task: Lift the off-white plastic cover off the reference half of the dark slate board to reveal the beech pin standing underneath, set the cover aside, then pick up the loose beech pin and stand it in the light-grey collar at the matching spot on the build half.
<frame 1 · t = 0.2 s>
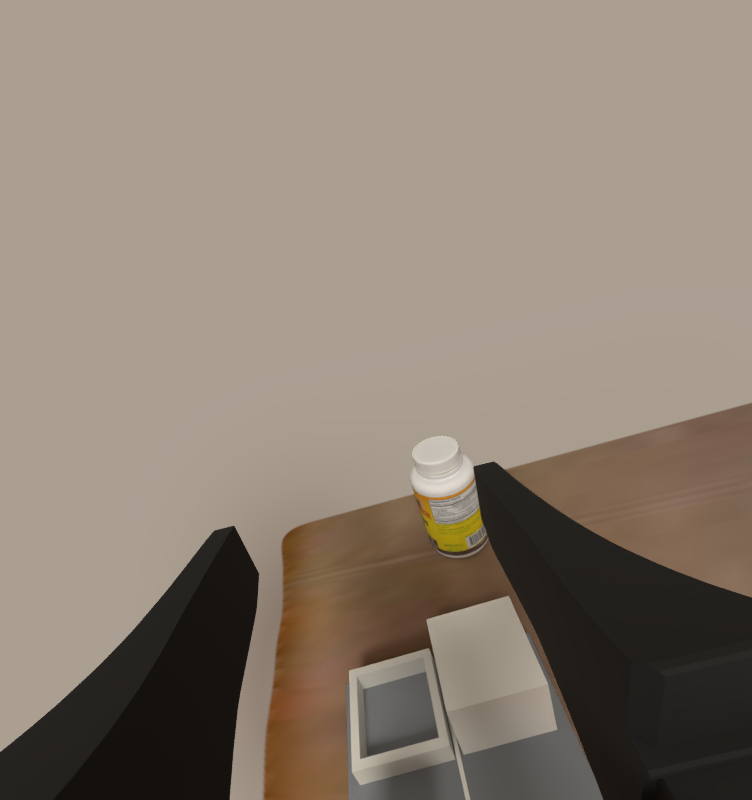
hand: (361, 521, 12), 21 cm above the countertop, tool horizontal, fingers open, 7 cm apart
layout board: (469, 795, 23), on the countertop
supplement bottle: (460, 539, 39), on the countertop
cover: (493, 691, 26), point 1 cm above the countertop, touching layout board
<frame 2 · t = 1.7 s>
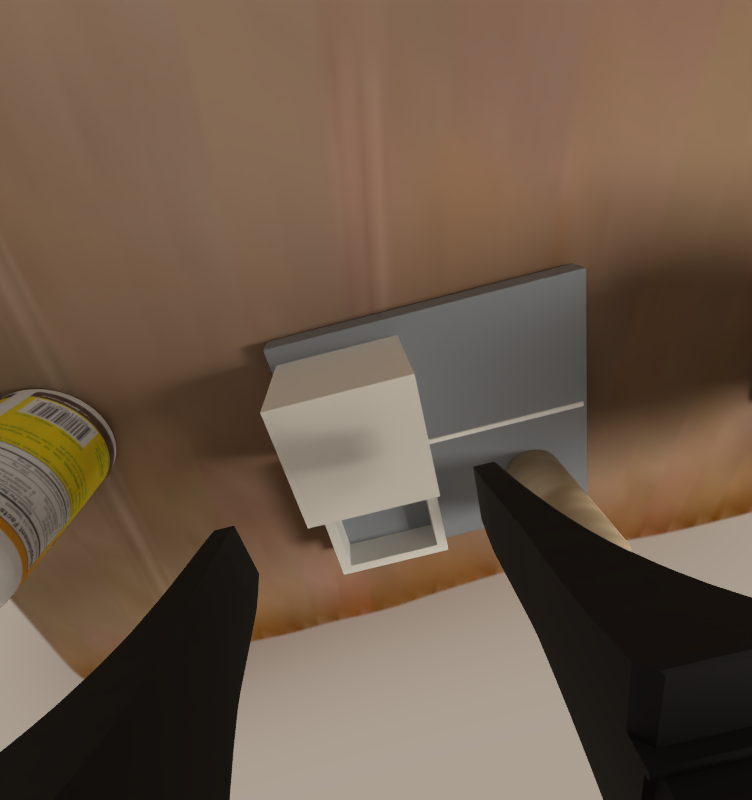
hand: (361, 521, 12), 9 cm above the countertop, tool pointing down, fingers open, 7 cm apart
layout board: (441, 424, 22), on the countertop
supplement bottle: (62, 434, 20), on the countertop
cover: (352, 404, 19), point 1 cm above the countertop, touching layout board
loose pin: (531, 473, 22), point 1 cm above the countertop, touching layout board
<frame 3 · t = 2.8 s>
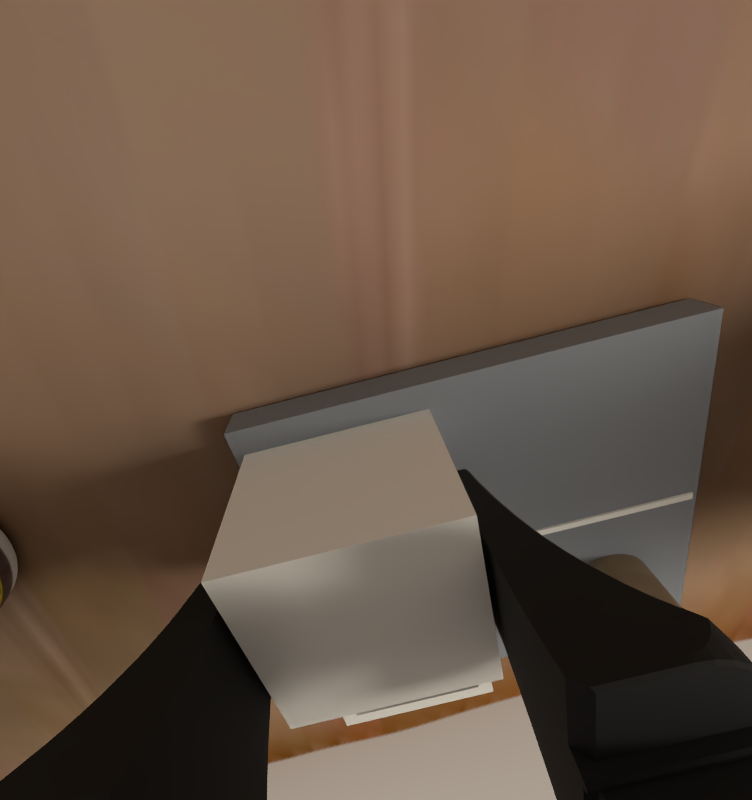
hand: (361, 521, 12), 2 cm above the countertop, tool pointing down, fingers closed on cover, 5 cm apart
layout board: (483, 518, 15), on the countertop
cover: (359, 504, 13), point 1 cm above the countertop, touching gripper, layout board
loose pin: (607, 583, 16), point 1 cm above the countertop, touching layout board
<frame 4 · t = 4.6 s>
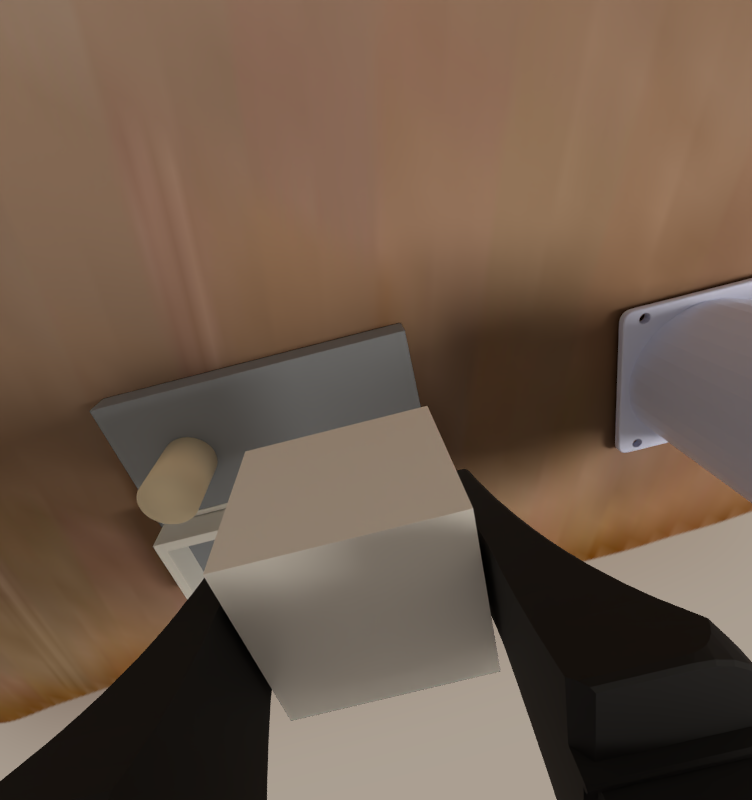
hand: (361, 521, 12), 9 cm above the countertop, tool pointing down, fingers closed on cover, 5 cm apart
layout board: (295, 473, 22), on the countertop
cover: (359, 500, 13), point 8 cm above the countertop, touching gripper
when the fingers open (3 cm above the countertop, at t = 6.3 s): cover stays where it is, resting on layout board.
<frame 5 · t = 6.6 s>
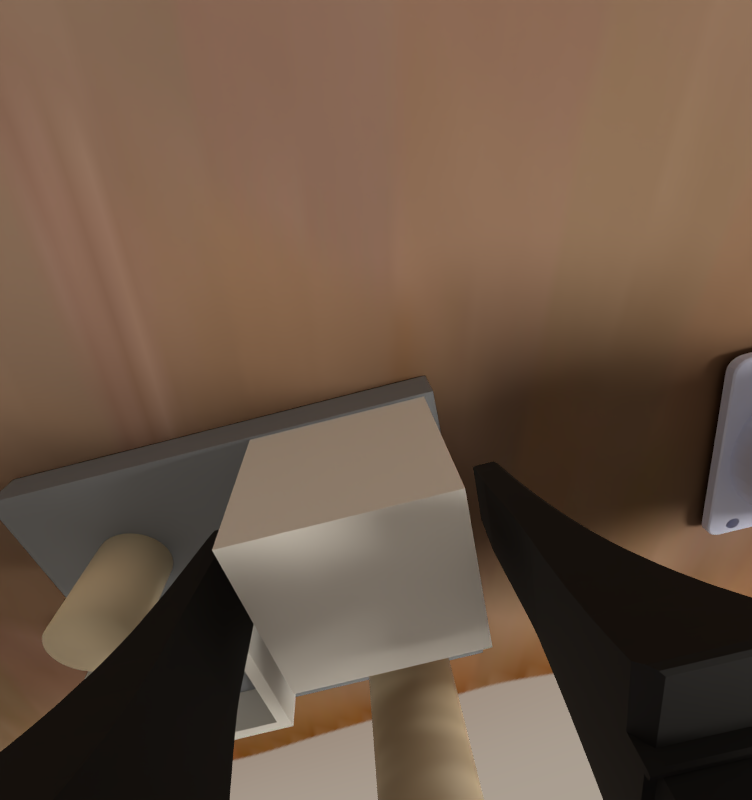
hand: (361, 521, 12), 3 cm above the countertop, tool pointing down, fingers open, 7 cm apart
layout board: (282, 565, 17), on the countertop
cover: (358, 487, 14), point 1 cm above the countertop, touching layout board
loose pin: (402, 625, 17), point 1 cm above the countertop, touching layout board
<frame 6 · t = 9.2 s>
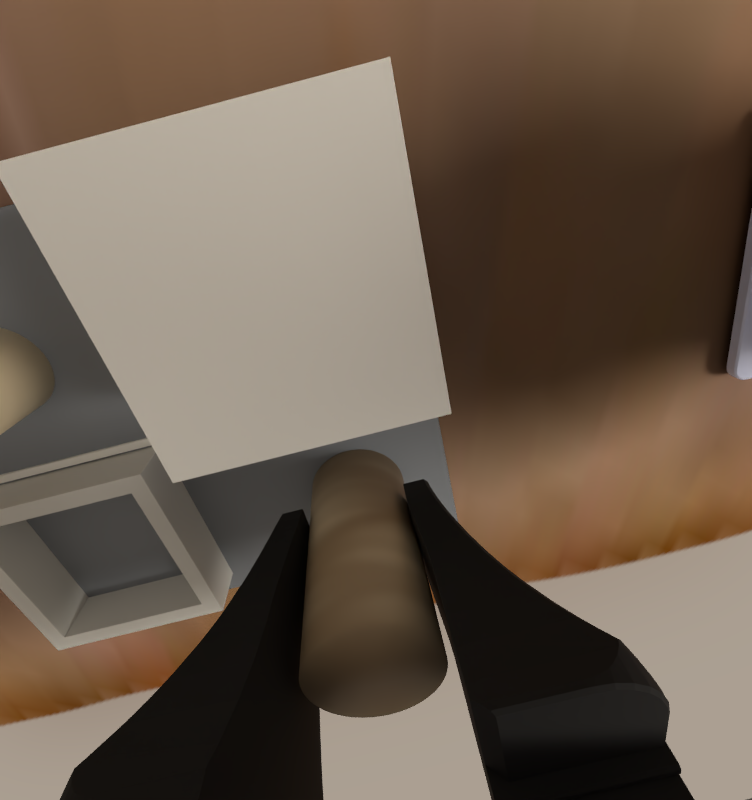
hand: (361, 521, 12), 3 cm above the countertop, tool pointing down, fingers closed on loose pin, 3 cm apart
layout board: (208, 410, 13), on the countertop
cover: (287, 267, 11), point 1 cm above the countertop, touching layout board
loose pin: (358, 488, 14), point 1 cm above the countertop, touching gripper, layout board
when the fingers open (4 cm above the countertop, at t = 11.6 s): loose pin stays where it is, resting on layout board.
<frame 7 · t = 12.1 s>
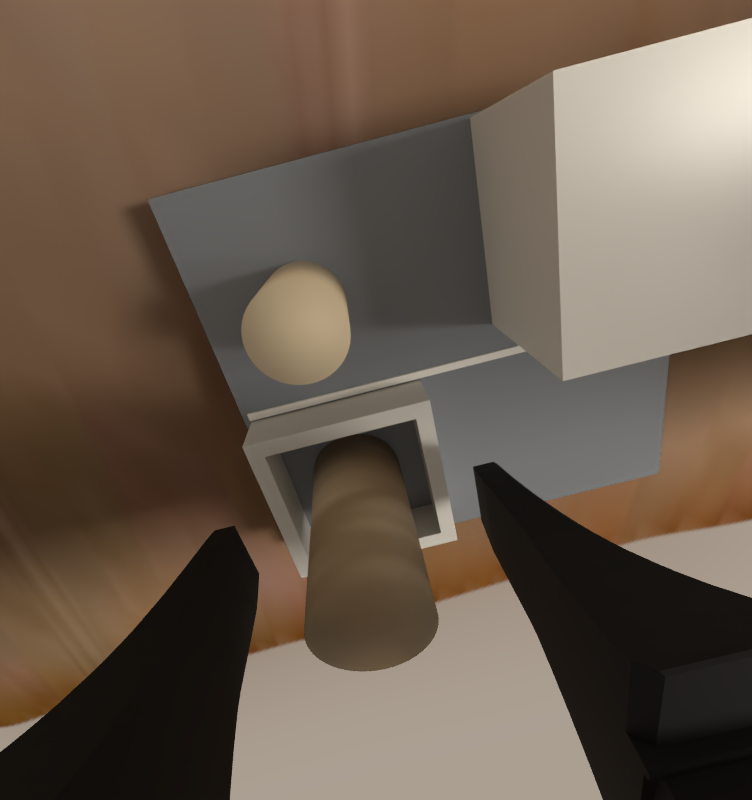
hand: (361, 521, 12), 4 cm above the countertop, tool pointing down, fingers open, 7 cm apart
layout board: (446, 351, 14), on the countertop
cover: (578, 206, 12), point 1 cm above the countertop, touching layout board
loose pin: (357, 471, 15), point 1 cm above the countertop, touching layout board
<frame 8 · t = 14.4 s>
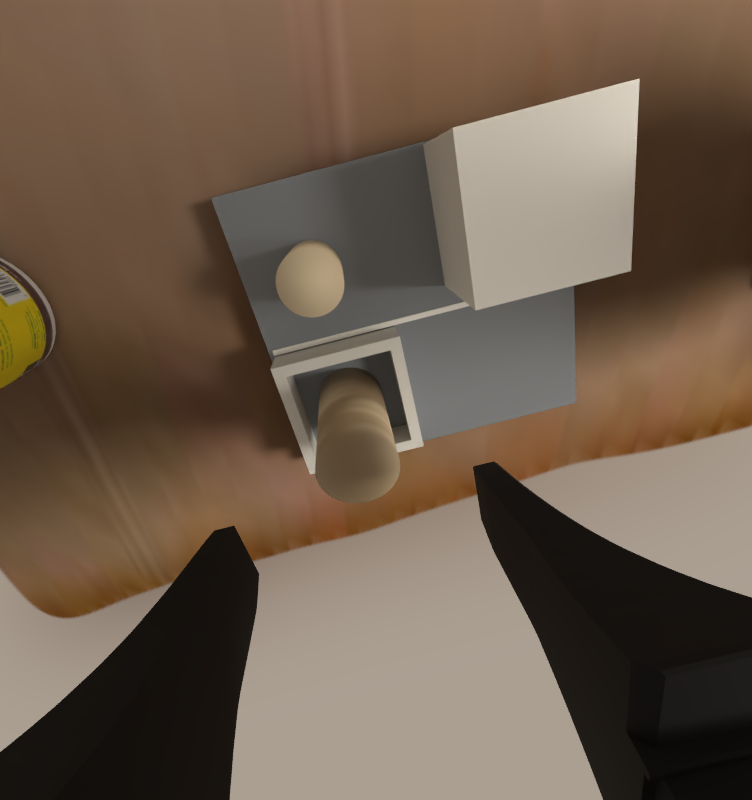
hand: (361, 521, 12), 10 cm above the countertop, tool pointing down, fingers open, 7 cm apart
layout board: (415, 308, 20), on the countertop
cover: (499, 203, 17), point 1 cm above the countertop, touching layout board
loose pin: (350, 396, 20), point 1 cm above the countertop, touching layout board
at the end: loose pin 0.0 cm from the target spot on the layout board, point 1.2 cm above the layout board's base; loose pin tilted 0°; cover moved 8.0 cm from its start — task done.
